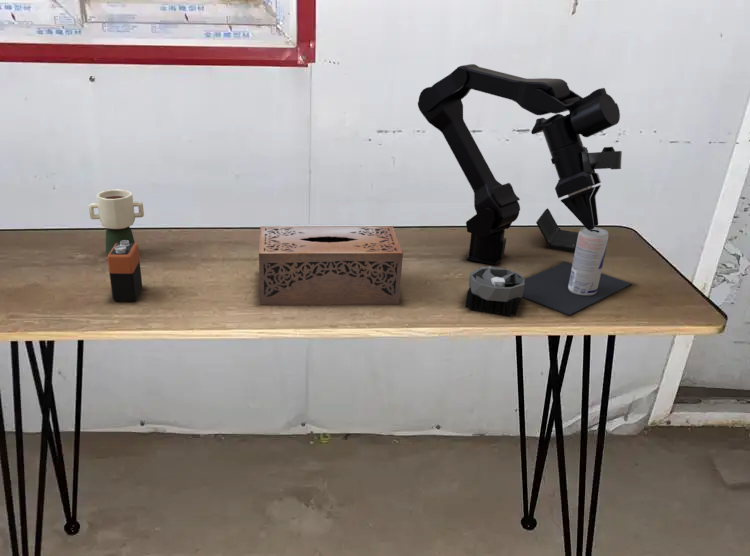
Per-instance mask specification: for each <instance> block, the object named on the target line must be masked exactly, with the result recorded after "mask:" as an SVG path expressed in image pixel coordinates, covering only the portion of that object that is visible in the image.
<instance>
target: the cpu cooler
mask: <svg viewBox="0 0 750 556" xmlns="http://www.w3.org/2000/svg"><path fill="white" fill-rule="evenodd" d="M524 279H525V278H524V276H523V275H521V273H520V272H517V271H515V270H511V269H508V268H503V267H497V266H496V267H495V266H493V265H489V266H478V268H477V269H474V270H473V271H470V273H469V281H468V286H469V288H468V290H467V293H466V300H465V301H466V302H465V308H469V311H475V312H481V313H482V312H483V313H489V314H494V315H499V316H500V315H501V316H506V317H510V316H517V313H518V310H519V307H520V304H521V301H522V299H523V298H522V297H523V291H524V285H525V283H524Z"/></svg>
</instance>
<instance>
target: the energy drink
mask: <svg viewBox="0 0 750 556" xmlns="http://www.w3.org/2000/svg"><path fill="white" fill-rule="evenodd" d="M608 242H609V231H608V230H606V229H604V228H601V227H597V226H594V229H592V230H588V229H587V228H586V227H585V226H583V227H581V228H580V230H579V234H578V239H577V244H576V249H575V252H574V255H573V259H572V263H571V264H572V269H571V275H570V280H569V285H568V289H569V291H570V292H571V293H573V294H575V295H579V296H592V295H594V294H595V293H596V292H597V289H598V285H599V280H600V275H601V274H602V269H603V265H604V262H605V256H606V251H607V247H608Z"/></svg>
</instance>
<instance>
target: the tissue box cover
mask: <svg viewBox="0 0 750 556" xmlns="http://www.w3.org/2000/svg"><path fill="white" fill-rule="evenodd" d="M258 243H259V244H258V276H259V277H258V280H259V281H258V282H259V306H276V305H277V306H282V305H284V306H285V305H290V306H293V305H297V306H300V305H301V306H303V305H304V306H305V305H306V306H307V305H309V306H311V305H318V306H319V305H321V306H322V305H324V306H325V305H327V306H328V305H329V306H330V305H400V299H401V298H400V296H401V284H402V273H403V271H402V270H403V259H404V258H403V257H404V252H403V250H402V246H401V244H400V242H399V239H398V237H397V234H396V232H395V229H394V226H393V225H392V226H389V225H388V226H387V225H386V226H378V225H377V226H375V225H374V226H373V225H372V226H371V225H370V226H369V225H368V226H364V225H363V226H362V225H361V226H360V225H359V226H356V225H353V226H351V225H350V226H349V225H348V226H334V225H333V226H331V225H330V226H329V225H328V226H323V225H321V226H299V225H298V226H297V225H295V226H294V225H293V226H290V225H289V226H281V225H280V226H279V225H278V226H277V225H276V226H273V225H271V226H265V225H264V226H260V227H259V242H258Z"/></svg>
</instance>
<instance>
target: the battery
mask: <svg viewBox="0 0 750 556" xmlns="http://www.w3.org/2000/svg"><path fill="white" fill-rule="evenodd" d="M107 265H108V272H109V280H110V290H111V295H112V297H111V298H112V301H114V302H136V300H137V299H138V296H139V294H140V293H141V291H142V288H143V281H142V270H141V269H142V268H141V261H140V251H139V244H138V243H137V242H135V243H129V241H128V240H122V241H120V243H116V244H115V245H114V247H113V248H112V250H111V251H110V253H109V254H107Z"/></svg>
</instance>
